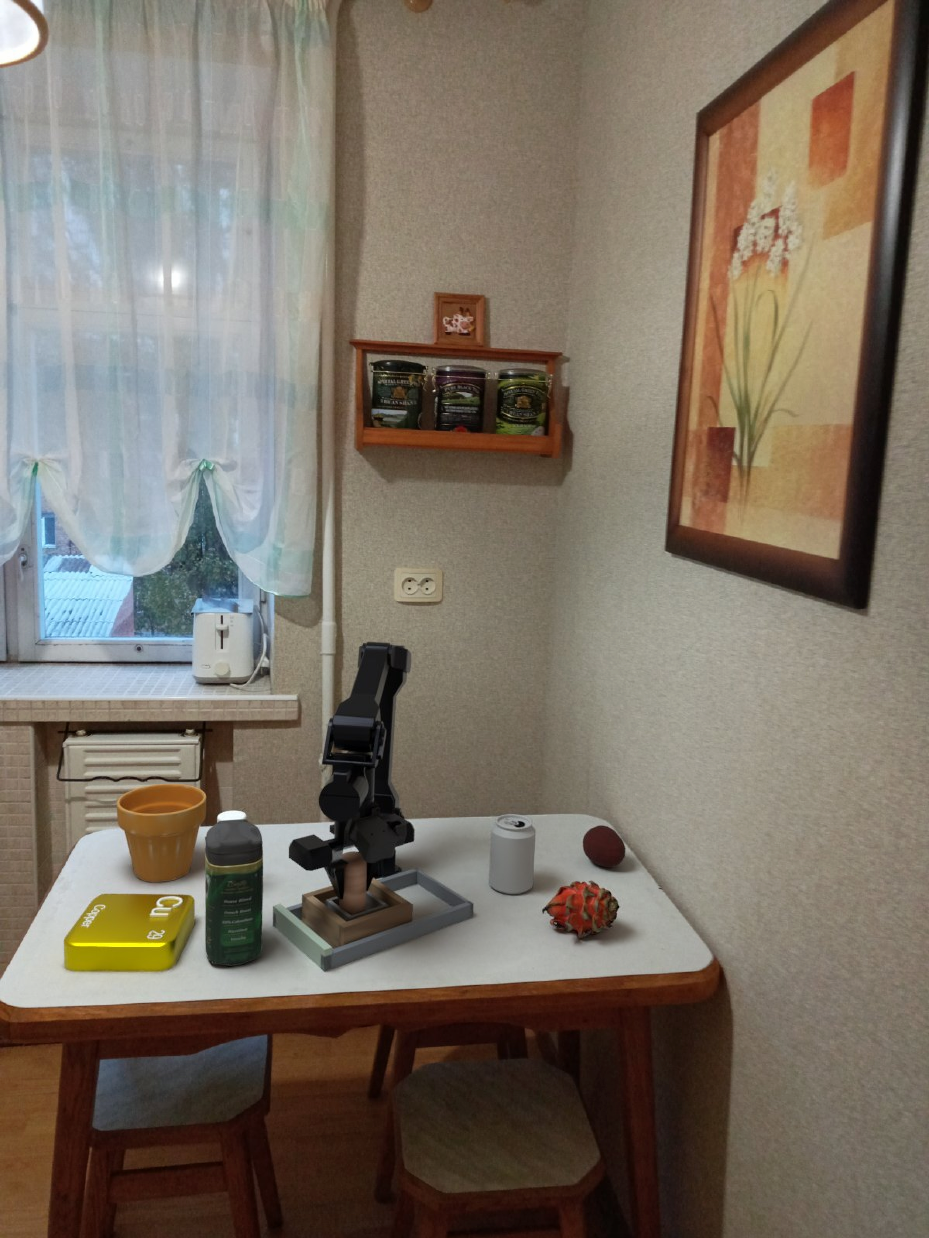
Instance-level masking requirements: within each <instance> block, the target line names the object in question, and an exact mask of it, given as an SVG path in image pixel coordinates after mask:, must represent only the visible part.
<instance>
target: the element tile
mask: <svg viewBox="0 0 929 1238" xmlns="http://www.w3.org/2000/svg"><path fill="white" fill-rule="evenodd" d="M195 902H196V901H195V898H194V897H193V896H192V895H190V894H173V893H171V894H169V893H168V894H166V893H164V894H163V893H162V894H161V893H155V894H153V893H102V894H100V895H97V896H96V897H95V898H93V899H92V900H91V901H90V903H89V904H88V905H87V907H86V908H85V910H84V911H83V912H82V913H81V915H80V916H79V918H78V919H77V920H76V921H75V923H74V925H73V926H72V927H71V929H70V930H69V932H68V933H67V934H66V935H65V937H64V939H63V958H64V959H63V960H64V963H63V965H64V969H66V970H67V971H70V972H122V973H123V972H128V973H129V972H135V973H137V972H143V973H144V972H146V973H147V972H149V973H150V972H151V973H152V972H153V973H156V972H164V971H167V970H169V969H172V968H173V967H174V966H175V965H176V964H177V962H178V959H179V958H180V957H181V953H182V952H183V949H184V947H185V945H186V943H187V941H188V939H189V937H190V935H191V933H192V930H193V928H194V927H195V920H196V919H195V917H196V916H195V914H196V913H195V911H196V910H195V909H196V908H195Z"/></svg>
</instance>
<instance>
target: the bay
mask: <svg viewBox="0 0 929 1238" xmlns="http://www.w3.org/2000/svg"><path fill="white" fill-rule="evenodd" d="M377 880H378V881H379V882H381V883H382V884H384V885H385V886H386V887H388V888H389V889H391V890H392V891H394V892H395V891H397V890H401V889H405V888H406V887H410V886H413V885H416V884H417V885H418V886H420V887H421V888H422V889H425V890H426V891H427V892H429V893H430V894H432V895H434V896H435V897H436V898H438V899H440V900H441V901H443V902H444V903H446V904H448V905H449V906H451V907H448V908H446V909H443V910H440V911H437V912H434V913H431V914H430V915H426V916H424V917H421V918H417V919H414V920H412V922H409V923H406V924H403V925H400V926H397V927H395V928H392V929H389V930H386V931H383V932H380V933H377V934H375V935H372V936H369V937H366V938H363V939H360V940H358V941H355V942H352V943H349V944H346V945H343V946H341V947H338V948H335V949H333V948H332V947H331V946H330V945H329V944H328V943H326V942H325V941H324V940H323V939H322V938H321V937H319V936H318V935H317V934H316V933H315V932H313V931H312V930H311V929H310V928H309V927H308V926H306V925H305V924H304V923H303V922H302V902H301V903H297V904H294V905H291V906H287V907H285V906H284V905H283V904H281V903H277V904H274V905H272V927H274V929H276V930H277V931H278V932H279V933H280V934H281V935H283V937H285V938H286V940H288V941H289V942H290V943H291V944H293V945H294V946H295V947H296V948H297V949H298V950H299V951H300V952H301V953H303V954H304V955H305V956H306V957H308V959H309V960H310V961H312V962H313V964H315V965H316V966H317V967H318V968H319V969H320V970H322V971H323V972H328V971H330V970H333V969H335V968H338V967H341V966H344V965H346V964H349V963H352V962H355V961H357V960H360V959H363V958H365V957H368V956H371V955H373V954H376V953H379V952H382V951H384V950H387V949H391V948H393V947H395V946H398V945H400V944H404V943H406V942H409V941H412V940H415V939H417V938H420V937H423V936H425V935H428V934H430V933H433V932H437V931H439V930H442V929H444V928H448V927H449V926H452V925H455V924H457V923H461V922H463V921H467V920H469V919H472V918H473V917H474V906H475V905H474V904H475V903H473V902H472V901H470V900H469V899H467V898H465V897H464V896H462V895H460V893H457V892H456V891H454V890H453V889H451V888H449V887H448V886H446V885H445V884H443V883H441V882H440V881H438V880H436V878H433V877H432V876H430V875H429V874H427V873H425V872H424V871H422V870H420V869H419V868H418V867H414V868H412V869H409V870H405V871H401V872H398V873H395V874H391V875H388V876H385V877H382V878H378V879H377Z"/></svg>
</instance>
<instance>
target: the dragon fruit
mask: <svg viewBox="0 0 929 1238" xmlns="http://www.w3.org/2000/svg"><path fill="white" fill-rule="evenodd" d="M588 883H589V884H588ZM588 883H587V882H586V881H582V882H581V881H578V880H575V881H572V882H570V884H569V885H563V886H560V887H559V889H558V890H557V893H556V894H555V895H554V896H553V897H552V898H551V900H550V901H549V902H548V903H547V904H546V906H545V907H544V908H542V911H541V914H542V915H544V914H548V915H549V917H553V918H551V919H550V920H549V924H550V925H551V926H552V927H555V928H556V929H558V930H561V931H562V930H566V931H567V932H570V931H577V932H578V933H577V935H578V936H577V937H579V939H582V938H584V937H587V936H589V935H590V934H592V935H596V934H598V932H602V929H609V930H610V929H612V928H614V927H613V923H614V921H615V920H616V919H617V918H618V911H619V909H620V907H621V906H620V905H619V900H617V899H616V897H614V896H613V895H612V892H611V891H610V890H609V889H606V888H605V887H600V885H599V884H598V883H597V882H595V881H593V880H588ZM611 924H612V925H611Z"/></svg>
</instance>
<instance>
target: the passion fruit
mask: <svg viewBox="0 0 929 1238" xmlns="http://www.w3.org/2000/svg"><path fill="white" fill-rule="evenodd" d="M582 847H583V848H582V849H583V850H582V851H583V853H584V854H585V856H586V857H587V859H588V860H590V861H591V862H592V863H595V864H596V865H598V866H601V867H604V868H614V867H615V868H616V867H617V866H620V864H621V863H622V862H623V861H624V859H625V857H626V846H625V843H624V841H623V839H622V838H621V837H620V835H619V834H618V832H617V831H615V829H613V828H612V827H609V826H607V825H603V824H602V825H596V826H594V827H592V828H589V830H587V831H586V833H585V834H584V835H583V839H582Z"/></svg>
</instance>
